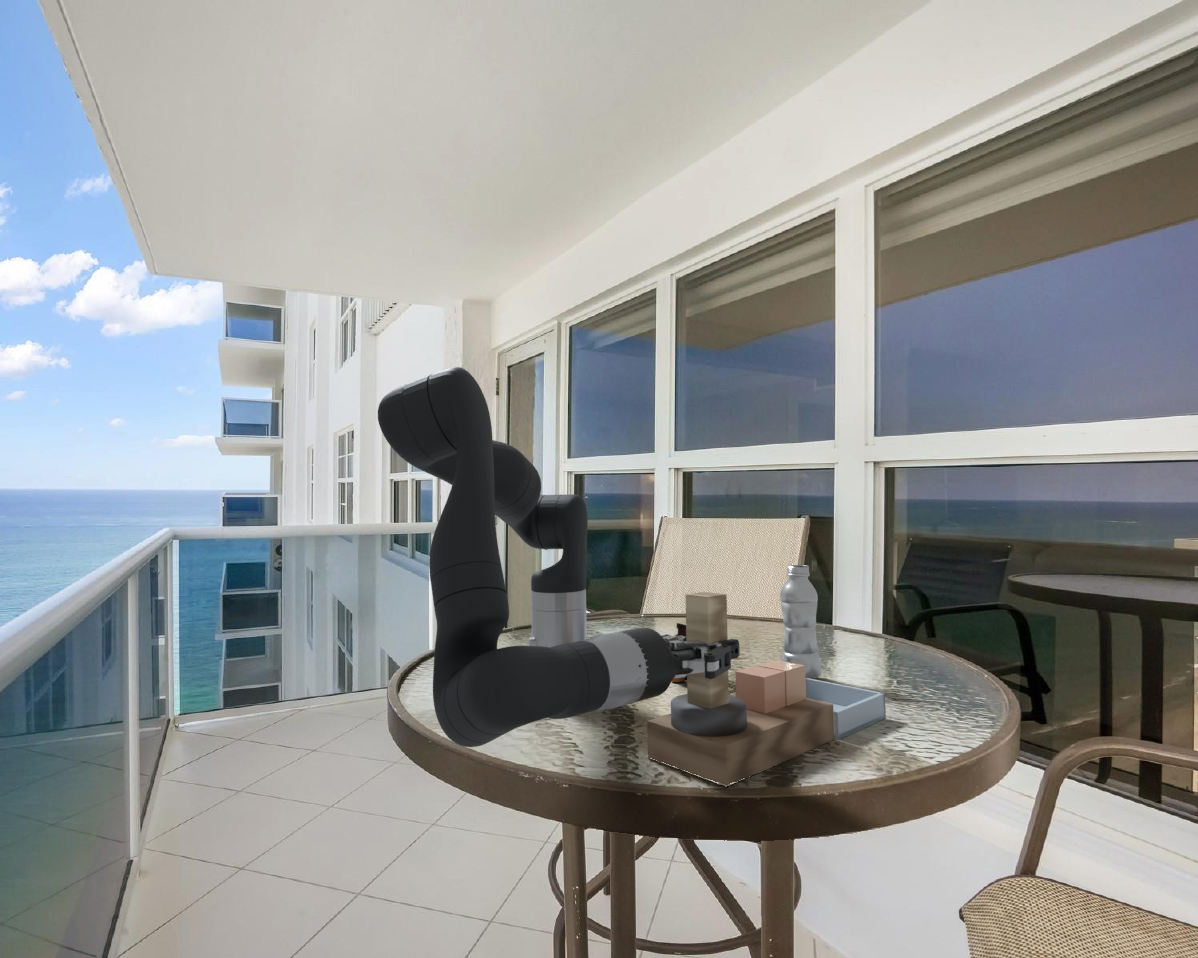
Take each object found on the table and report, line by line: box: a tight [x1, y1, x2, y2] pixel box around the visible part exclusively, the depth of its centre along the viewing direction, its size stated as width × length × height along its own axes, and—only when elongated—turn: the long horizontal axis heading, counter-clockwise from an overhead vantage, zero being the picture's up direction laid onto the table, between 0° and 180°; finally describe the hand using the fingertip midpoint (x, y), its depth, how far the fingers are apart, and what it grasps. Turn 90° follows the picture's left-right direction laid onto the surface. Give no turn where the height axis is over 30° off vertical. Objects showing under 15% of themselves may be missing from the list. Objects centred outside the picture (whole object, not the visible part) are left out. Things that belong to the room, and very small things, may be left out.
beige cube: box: [756, 659, 806, 706], centre depth 90 cm, size 4×4×4 cm
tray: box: [805, 678, 887, 740], centre depth 96 cm, size 13×13×4 cm
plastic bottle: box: [779, 564, 822, 679], centre depth 119 cm, size 6×7×20 cm
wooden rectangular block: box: [646, 693, 835, 785], centre depth 84 cm, size 22×12×4 cm, turn 131°
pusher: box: [670, 591, 747, 737], centre depth 80 cm, size 9×9×16 cm
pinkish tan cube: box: [734, 665, 786, 714], centre depth 87 cm, size 4×4×4 cm
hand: (721, 645), depth 82 cm, fingers open, 4 cm apart
